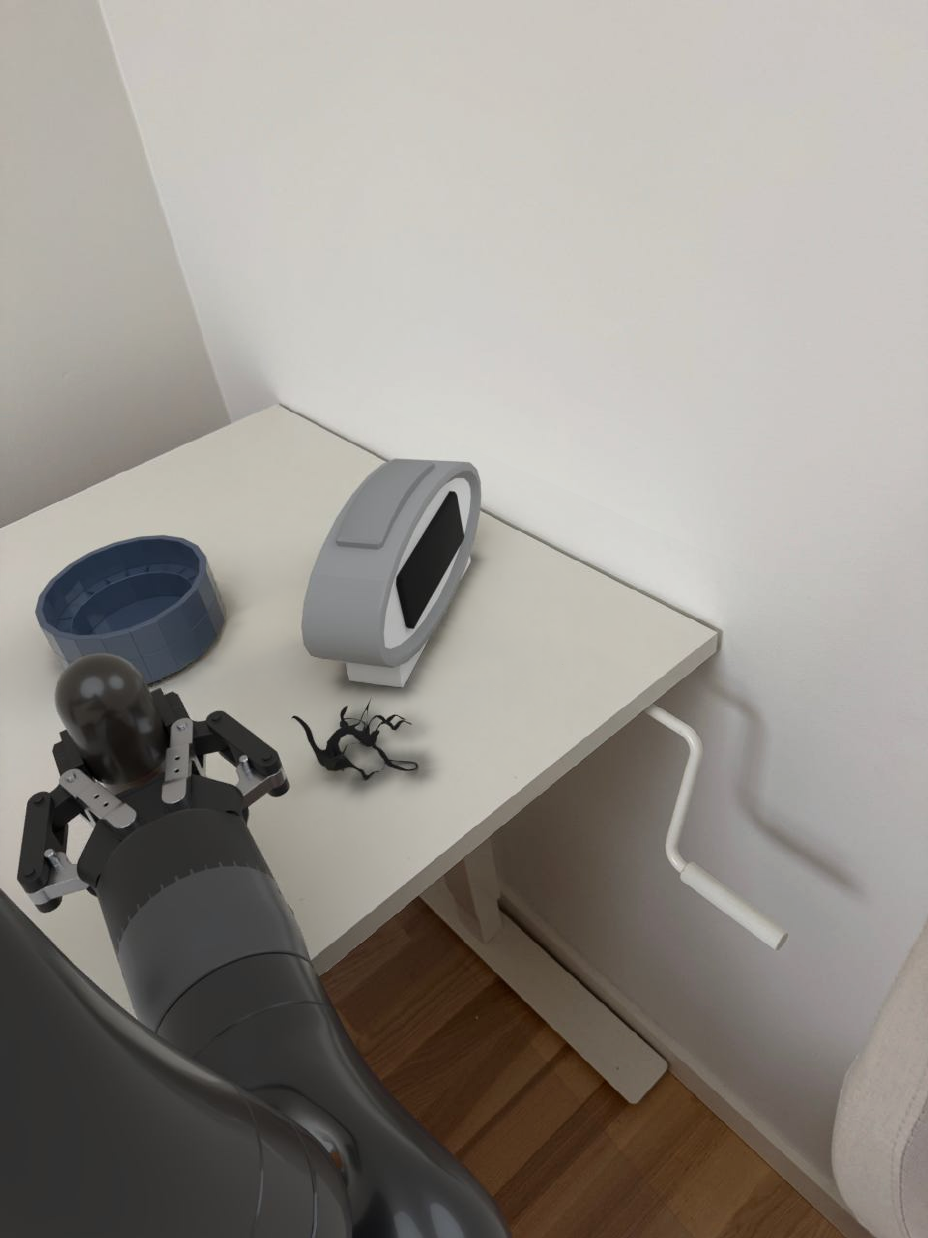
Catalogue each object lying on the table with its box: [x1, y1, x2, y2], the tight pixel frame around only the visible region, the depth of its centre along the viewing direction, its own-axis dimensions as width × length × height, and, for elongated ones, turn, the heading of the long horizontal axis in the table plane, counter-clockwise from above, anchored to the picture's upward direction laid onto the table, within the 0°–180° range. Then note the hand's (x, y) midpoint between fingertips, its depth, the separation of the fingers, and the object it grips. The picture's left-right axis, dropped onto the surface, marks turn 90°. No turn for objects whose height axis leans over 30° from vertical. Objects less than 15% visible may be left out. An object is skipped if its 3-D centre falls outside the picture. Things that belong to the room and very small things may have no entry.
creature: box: [290, 697, 419, 781], centre depth 67 cm, size 8×5×8 cm
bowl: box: [34, 534, 226, 685], centre depth 82 cm, size 14×14×6 cm
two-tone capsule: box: [54, 653, 170, 795], centre depth 53 cm, size 5×5×13 cm
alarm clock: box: [300, 458, 482, 688], centre depth 76 cm, size 23×6×13 cm, turn 161°
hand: (116, 721), depth 55 cm, fingers closed on two-tone capsule, 4 cm apart
